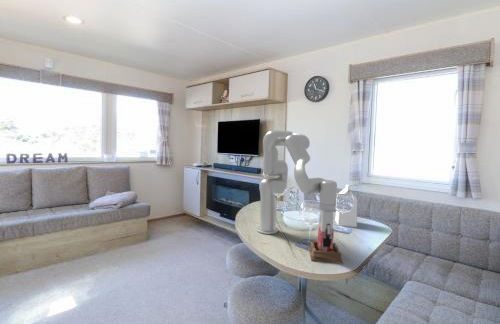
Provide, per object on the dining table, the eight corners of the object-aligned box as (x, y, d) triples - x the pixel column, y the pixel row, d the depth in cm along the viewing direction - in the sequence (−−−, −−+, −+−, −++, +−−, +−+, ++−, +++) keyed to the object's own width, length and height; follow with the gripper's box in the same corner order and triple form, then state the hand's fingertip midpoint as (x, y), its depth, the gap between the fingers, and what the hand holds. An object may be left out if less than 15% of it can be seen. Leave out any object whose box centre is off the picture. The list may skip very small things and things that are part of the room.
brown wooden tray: (308, 248, 132) (308, 240, 132) (336, 250, 131) (337, 242, 130) (311, 260, 118) (311, 252, 118) (343, 263, 117) (343, 254, 116)
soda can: (329, 246, 128) (331, 223, 127) (334, 253, 121) (336, 228, 120) (315, 246, 128) (316, 222, 127) (319, 253, 121) (321, 227, 120)
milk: (356, 226, 168) (359, 187, 165) (338, 225, 170) (340, 186, 167) (352, 221, 180) (354, 184, 177) (335, 219, 181) (337, 183, 179)
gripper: (316, 201, 131) (315, 236, 133) (321, 211, 114) (319, 250, 116) (332, 202, 131) (330, 237, 132) (339, 212, 113) (337, 251, 115)
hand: (325, 242), depth 124 cm, fingers closed on soda can, 7 cm apart
